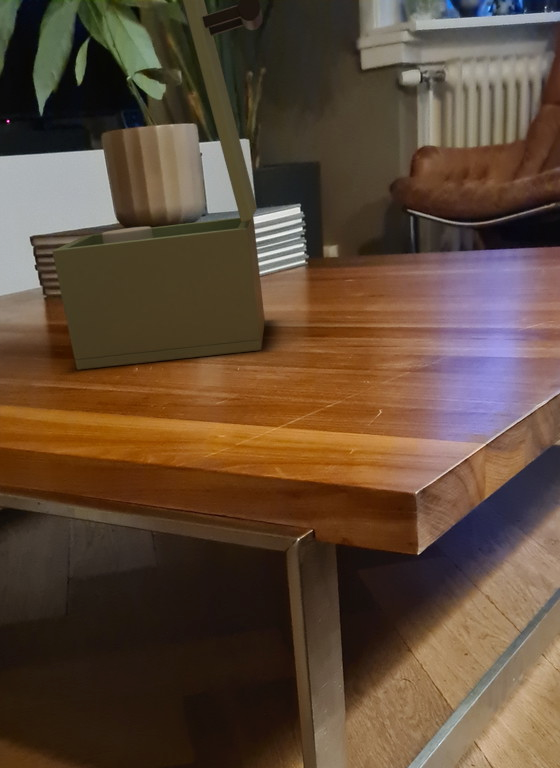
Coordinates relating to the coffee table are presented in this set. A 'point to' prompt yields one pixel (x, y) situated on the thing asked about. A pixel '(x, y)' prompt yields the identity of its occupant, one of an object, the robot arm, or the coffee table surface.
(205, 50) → the lid
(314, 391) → the coffee table surface
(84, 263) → the bin
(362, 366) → the coffee table surface
